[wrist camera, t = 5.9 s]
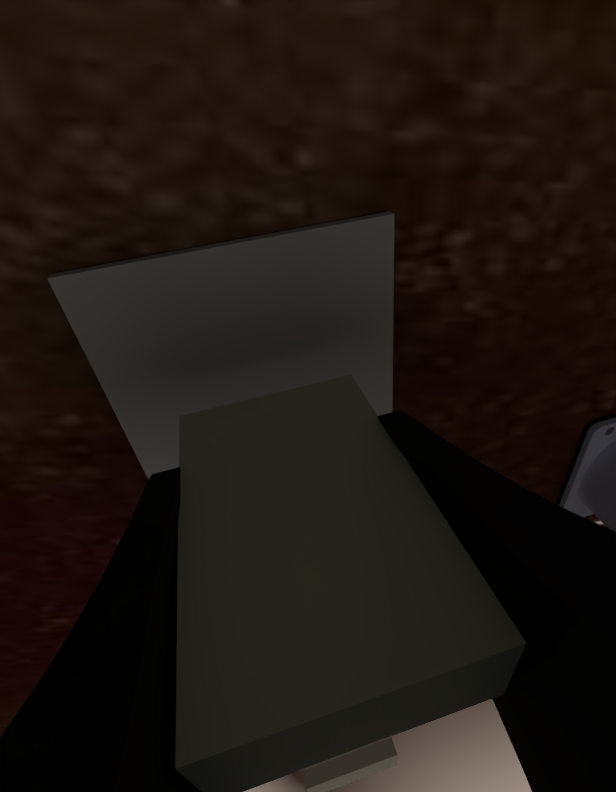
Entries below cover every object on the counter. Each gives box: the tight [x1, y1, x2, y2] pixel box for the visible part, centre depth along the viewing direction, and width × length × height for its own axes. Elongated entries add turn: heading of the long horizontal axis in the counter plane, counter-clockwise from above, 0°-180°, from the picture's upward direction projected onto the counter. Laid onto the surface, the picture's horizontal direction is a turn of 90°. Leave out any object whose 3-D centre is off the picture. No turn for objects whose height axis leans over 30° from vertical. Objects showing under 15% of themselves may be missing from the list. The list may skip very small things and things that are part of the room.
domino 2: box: [303, 737, 397, 792], centre depth 23 cm, size 2×5×7 cm, turn 97°
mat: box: [47, 212, 394, 479], centre depth 20 cm, size 10×28×1 cm, turn 7°
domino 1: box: [175, 375, 527, 792], centre depth 8 cm, size 2×5×7 cm, turn 97°
